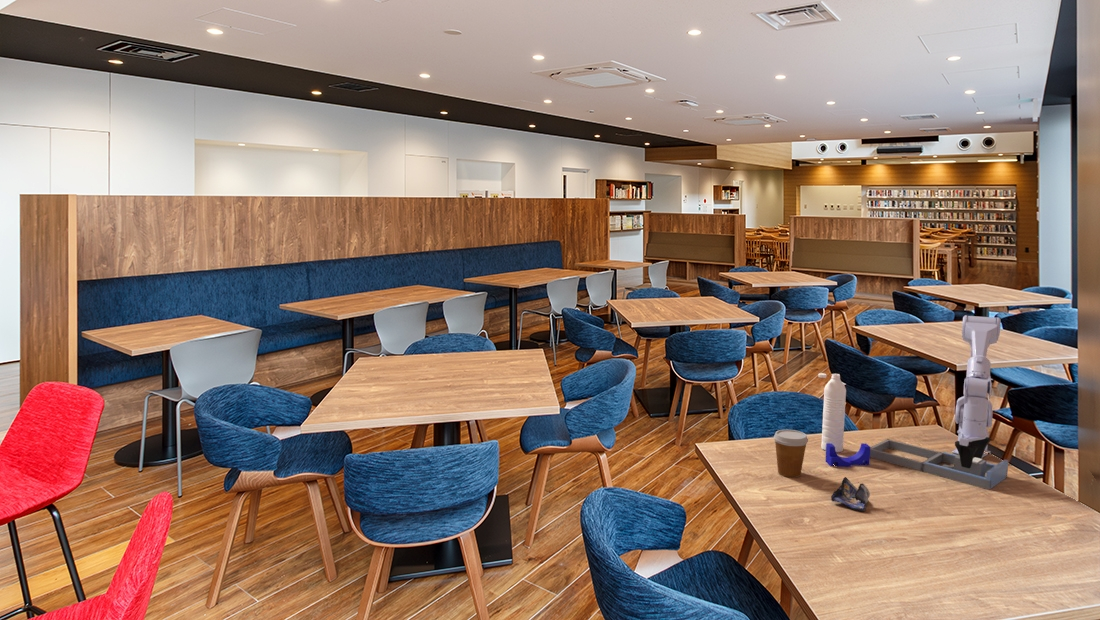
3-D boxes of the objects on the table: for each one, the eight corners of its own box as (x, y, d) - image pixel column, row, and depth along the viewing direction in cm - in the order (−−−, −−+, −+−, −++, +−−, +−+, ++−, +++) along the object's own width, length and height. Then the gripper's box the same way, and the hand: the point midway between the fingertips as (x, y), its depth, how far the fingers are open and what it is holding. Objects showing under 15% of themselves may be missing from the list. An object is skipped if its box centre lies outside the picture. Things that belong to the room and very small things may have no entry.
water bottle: (838, 445, 221) (842, 371, 217) (846, 452, 214) (850, 376, 211) (811, 445, 221) (814, 371, 217) (818, 452, 215) (822, 376, 211)
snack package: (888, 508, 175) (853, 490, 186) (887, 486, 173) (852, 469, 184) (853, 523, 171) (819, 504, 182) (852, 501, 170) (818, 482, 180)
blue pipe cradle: (830, 467, 203) (831, 448, 202) (825, 461, 207) (826, 443, 206) (871, 467, 202) (872, 448, 201) (864, 462, 207) (866, 443, 206)
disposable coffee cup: (767, 468, 202) (768, 429, 200) (797, 466, 203) (799, 428, 201) (780, 480, 193) (782, 440, 191) (812, 479, 193) (814, 438, 192)
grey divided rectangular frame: (887, 446, 220) (888, 431, 219) (1007, 477, 194) (1008, 460, 193) (866, 456, 211) (867, 441, 210) (989, 489, 185) (990, 472, 184)
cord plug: (944, 466, 202) (946, 450, 201) (985, 477, 194) (986, 460, 193) (939, 470, 199) (940, 453, 199) (979, 480, 191) (981, 463, 190)
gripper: (968, 410, 200) (965, 454, 202) (949, 420, 191) (945, 466, 193) (996, 416, 195) (992, 460, 197) (977, 426, 186) (973, 473, 187)
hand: (970, 464), depth 194 cm, fingers open, 7 cm apart
